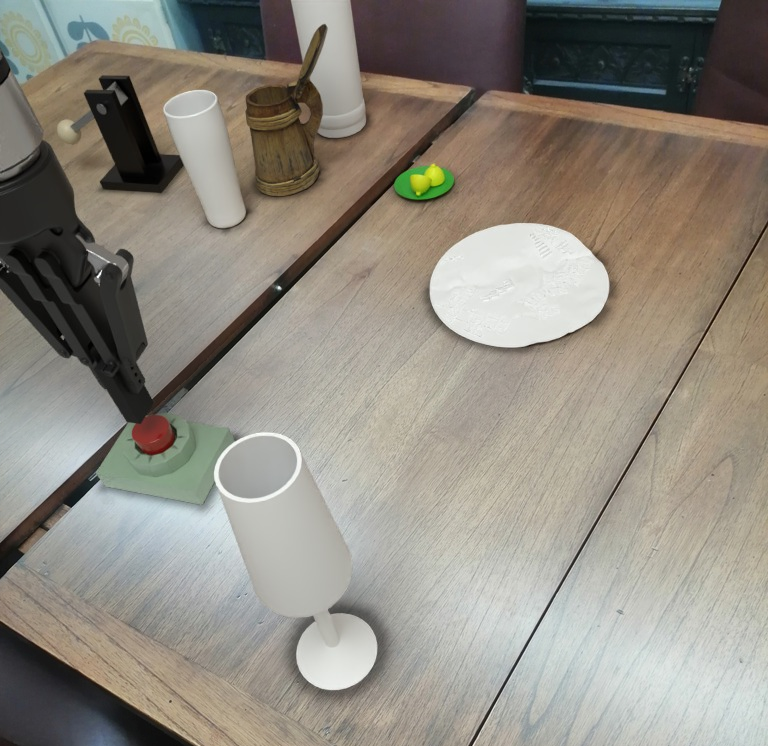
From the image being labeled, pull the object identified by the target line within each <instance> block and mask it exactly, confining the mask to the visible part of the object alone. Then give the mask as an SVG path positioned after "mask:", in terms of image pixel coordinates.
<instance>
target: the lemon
mask: <svg viewBox="0 0 768 746" xmlns="http://www.w3.org/2000/svg"><path fill="white" fill-rule="evenodd" d="M454 182H455V177H454V175H453V173H451V171H449V170H448V169H446V168H444V167H440V166H439V165H436V163H431V165H424V166H417V167H413V168H410V169H408V170H405V171H404V172H402V173H401V174H399V176H398V177H396V179H395V181H394V184H393V187H394V190H395V192H396V193H397V194H398V195H400V196H401V197H403V198H406V199H410V200H428V199H434V198H436V197H439V196H442V195H443V194H445V193H446V192H448V191H449V190H450V189H451V188H452V187H453V185H454Z"/></svg>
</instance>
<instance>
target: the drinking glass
mask: <svg viewBox="0 0 768 746" xmlns="http://www.w3.org/2000/svg"><path fill="white" fill-rule="evenodd" d="M162 111H163V115H164V119H165V122H166V125H167V129H168V131H169V134H170V136H171V139H172V142H173V144H174V147H175V149H176V151H177V155H179V156H180V158H181V160H182V162H183V167H184V169H185V170H186V174H187V175H188V178H189V180H190V182H191V184H192V187H193V189H194V191H195V193H196V195H197V197H198V200H199V202H200V204H201V206H202V209H203V211H204V215H205V217H206V220H207V222H208V223H209V224H210V225H211V227H214V228H218V229H228V228H231V227H235V226H237V225H239V224H240V223H241V222H243V220H244V219H245V217H246V214H247V209H246V205H245V202H244V199H243V195H242V190H241V186H240V180H239V177H238V171H237V166H236V163H235V159H234V152H233V148H232V144H231V138H230V134H229V130H228V126H227V122H226V119H225V116H224V112H223V109H222V106H221V104H220V101H219V98H218V95H217V94H216V93H215V92H213V91H210V90H206V89H194V90H189V91H185V92H181V93H179V94H176V95H175V96H172V97H171V98H170V99H169V100H168V101H166V102H165V104H164V105H163V108H162Z"/></svg>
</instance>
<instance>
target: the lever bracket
mask: <svg viewBox="0 0 768 746" xmlns="http://www.w3.org/2000/svg"><path fill="white" fill-rule="evenodd" d="M98 81H99V83H100V86H101V88H102V89H86V90H85V91H84V92H83V96H84V98H85V99H86V102H87V105H88V107H89V110H90V109H91V111H92V114H93V116H94V120H95V122H96V125H97V127H98V129H99V132H100V134H101V136H102V138H103V140H104V143H105V145H106V147H107V150H108V152H109V154H110V157H111V158H112V161H113V163H114V164H113V166H112V167H111V168H110V169H109V170H108V172H106V174H104V176H103V177H102V178H101V179H100V180H99V183H100V186H101V188H102V190H111V191H112V190H113V191H129V192H146V193H161V194H162V192H164V190H165V189H166V188H167V186H168V185H169V184H170V183H171V181H172V180H173V179H174V178H175V176H176V175H177V174H178V173H179V171H180V170H181V169H182V167H184V165H183V162H182V160H181V158H180V156H179V154H164V153H160V152H159V148H158V146H157V144H156V142H155V138H154V136H153V133H152V131H151V128H150V126H149V123H148V121H147V118H146V116H145V113H144V110H143V107H142V105H141V103H140V100H139V97H138V95H137V93H136V90H135V87H134V85H133V82H132V79H131V77H130V75H116V74H115V75H109V74H108V75H107V74H106V75H105V74H104V75H103V74H102V75H100V76H99V78H98ZM114 82H116V83H117V84H118V86H119V87H120V88H121V89H122V91H123V92H124V93H125V94H126V96H127V97H128V99H127V100H126V101H125V102H124V103H123V105H122V106H121V104H120V101H119V99H118V97H117V94H116V92H115V90H105V89H106V88H108V87H109V86H110V85H111V84H113V83H114Z"/></svg>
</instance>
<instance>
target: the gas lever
mask: <svg viewBox="0 0 768 746" xmlns="http://www.w3.org/2000/svg"><path fill="white" fill-rule="evenodd" d="M105 90H115V92H116V94H117V97H118V99H119V101H120V104H121V106H122V105H123V103H124V102H125V101H126V100H127V99H128V97H127V96H126V94H125V93H124V92H123V91H122V89H121V88H120V87H119V86H118V84H117V83H116V82H114V83H113V84H111V85H110V86H109V87H108V88H106V89H105ZM93 120H95V118H94V116H93V114H92V111H91V109H90V108H89V110H88V111H86V112H85V113H84V114H83V115H81V116H80V117H79V118H78V119H76V120H75V121H73V120H71V119H69V118H68V119H66V118H65V119H62V120H60V121H59V122H58V124H57V127H56V131H57V133H56V134H57V135H58V137H59V139H60V140H61V141H62V142H63V143H64V144H67V145H76V144H78V143H79V142H80V140H81V137H82V131H81V129H82V128H84V127H85V126H86V125H88V124H89V123H91V122H92V121H93Z"/></svg>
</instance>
